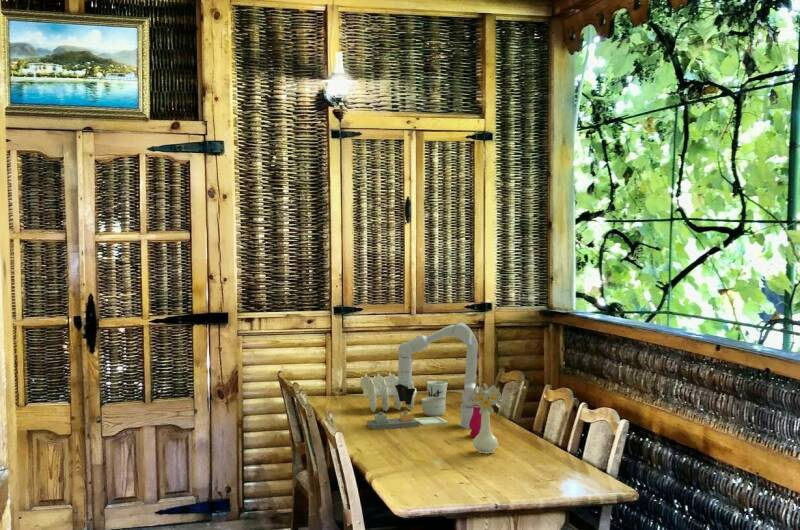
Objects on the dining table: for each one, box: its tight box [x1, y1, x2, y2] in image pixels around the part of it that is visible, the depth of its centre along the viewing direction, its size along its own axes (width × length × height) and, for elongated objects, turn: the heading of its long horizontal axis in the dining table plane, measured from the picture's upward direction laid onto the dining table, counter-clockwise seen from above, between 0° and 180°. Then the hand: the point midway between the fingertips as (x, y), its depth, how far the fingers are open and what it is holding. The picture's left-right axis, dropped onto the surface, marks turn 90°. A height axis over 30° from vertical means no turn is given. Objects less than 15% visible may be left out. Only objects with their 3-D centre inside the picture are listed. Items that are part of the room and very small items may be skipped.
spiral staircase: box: [359, 372, 418, 413], centre depth 398 cm, size 18×18×25 cm
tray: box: [413, 416, 449, 427], centre depth 371 cm, size 12×12×1 cm
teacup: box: [421, 396, 446, 417], centre depth 388 cm, size 14×11×8 cm
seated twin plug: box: [374, 411, 388, 424], centre depth 361 cm, size 4×4×6 cm
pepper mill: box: [469, 386, 482, 438], centre depth 345 cm, size 7×7×20 cm
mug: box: [425, 380, 449, 399], centre depth 420 cm, size 10×15×10 cm
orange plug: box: [399, 409, 413, 422], centre depth 365 cm, size 4×4×6 cm
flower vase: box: [469, 382, 505, 455], centre depth 318 cm, size 13×18×25 cm
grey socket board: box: [366, 417, 420, 431], centre depth 363 cm, size 10×20×2 cm, turn 109°
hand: (405, 402), depth 365 cm, fingers open, 7 cm apart
